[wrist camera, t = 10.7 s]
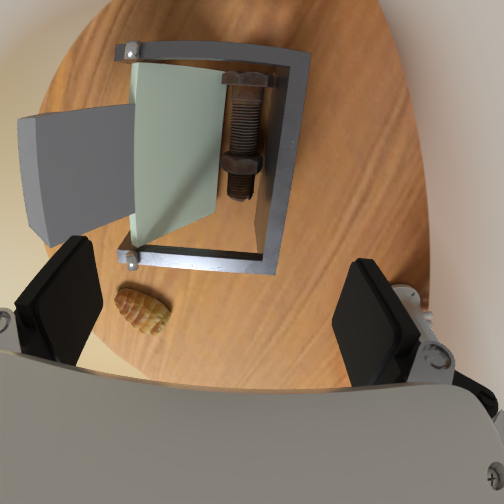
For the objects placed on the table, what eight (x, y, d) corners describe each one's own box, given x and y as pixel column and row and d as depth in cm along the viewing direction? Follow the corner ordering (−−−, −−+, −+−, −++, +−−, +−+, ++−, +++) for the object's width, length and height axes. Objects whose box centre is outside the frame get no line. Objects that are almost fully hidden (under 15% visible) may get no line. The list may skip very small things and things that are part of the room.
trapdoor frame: (287, 66, 30) (314, 51, 18) (265, 224, 40) (276, 282, 29) (153, 57, 28) (110, 43, 17) (148, 215, 39) (114, 269, 27)
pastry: (111, 301, 46) (104, 316, 43) (127, 277, 44) (120, 291, 41) (156, 329, 50) (152, 344, 46) (176, 307, 47) (172, 323, 44)
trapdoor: (189, 72, 31) (228, 72, 29) (181, 200, 40) (215, 212, 37) (18, 77, 15) (37, 66, 12) (37, 260, 23) (60, 286, 21)
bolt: (218, 206, 33) (225, 69, 25) (213, 190, 37) (219, 71, 29) (268, 205, 34) (282, 74, 26) (258, 190, 38) (269, 75, 30)
